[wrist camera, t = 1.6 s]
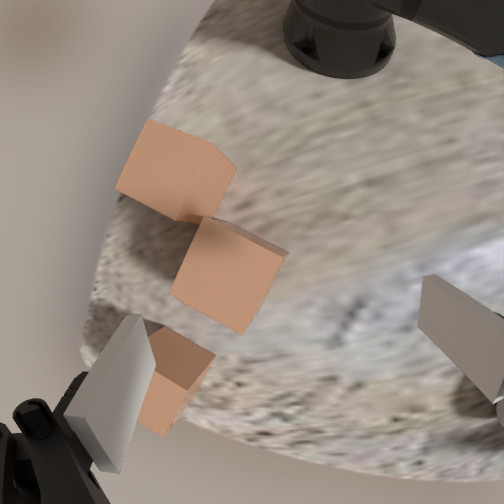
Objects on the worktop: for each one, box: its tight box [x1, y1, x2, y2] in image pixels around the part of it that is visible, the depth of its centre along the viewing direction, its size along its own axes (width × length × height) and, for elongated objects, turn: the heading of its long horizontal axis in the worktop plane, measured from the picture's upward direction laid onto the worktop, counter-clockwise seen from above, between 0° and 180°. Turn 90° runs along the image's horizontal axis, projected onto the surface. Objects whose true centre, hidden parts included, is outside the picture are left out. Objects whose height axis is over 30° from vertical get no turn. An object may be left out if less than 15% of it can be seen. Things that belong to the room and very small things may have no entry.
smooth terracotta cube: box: [169, 217, 289, 335], centre depth 32 cm, size 8×8×10 cm
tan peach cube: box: [137, 326, 216, 437], centre depth 34 cm, size 8×8×10 cm
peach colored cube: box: [115, 119, 237, 224], centre depth 32 cm, size 8×8×10 cm
